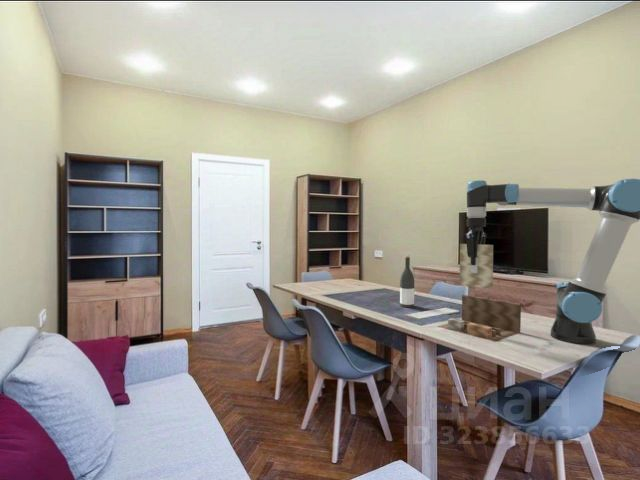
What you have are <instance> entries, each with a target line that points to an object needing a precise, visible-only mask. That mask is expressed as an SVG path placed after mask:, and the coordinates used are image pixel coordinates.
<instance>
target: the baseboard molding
mask: <svg viewBox="0 0 640 480" xmlns="http://www.w3.org/2000/svg"><path fill="white" fill-rule="evenodd" d="M452 308H453V309H452ZM458 313H461V311H460V308H458V309H454V307H453V306H451V307H450V308H449V307H448V306H445V307H441V308H436V309H429V310H424V311H419V312H418V311H417V312H413V313H412V312H411V313H408V314H403V316H404V317H407V318H410V319H411V318H412V319H414V320H422V319H427V318H431V317H435V316H441V315H447V316H448V315H453V314H458Z"/></svg>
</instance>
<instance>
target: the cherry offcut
mask: <svg viewBox="0 0 640 480" xmlns="http://www.w3.org/2000/svg"><path fill="white" fill-rule="evenodd" d="M467 333H468V334H472V335H476V336H480V337H483V338H487V339H489V338H492V327H488V326H483V325H479V324H475V323H468V324H467Z"/></svg>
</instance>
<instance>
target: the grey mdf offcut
mask: <svg viewBox="0 0 640 480" xmlns="http://www.w3.org/2000/svg"><path fill="white" fill-rule="evenodd" d="M447 324H448V328H449V329H453V330H457V331H464V321H462V319H460V320H458V318H453V317H451V318H448V319H447Z"/></svg>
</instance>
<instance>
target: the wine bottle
mask: <svg viewBox="0 0 640 480" xmlns="http://www.w3.org/2000/svg"><path fill="white" fill-rule="evenodd" d="M404 258H405V259H404V260H405V265H404V267H405V268H404V270H403V271H402V273H401V275H400V278H399V306H400V307H403V308H413V307H415V276H414V273H413V272H412V270H411V267H410V266H411V264H410V262H411V257H410V254H405V257H404Z"/></svg>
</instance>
